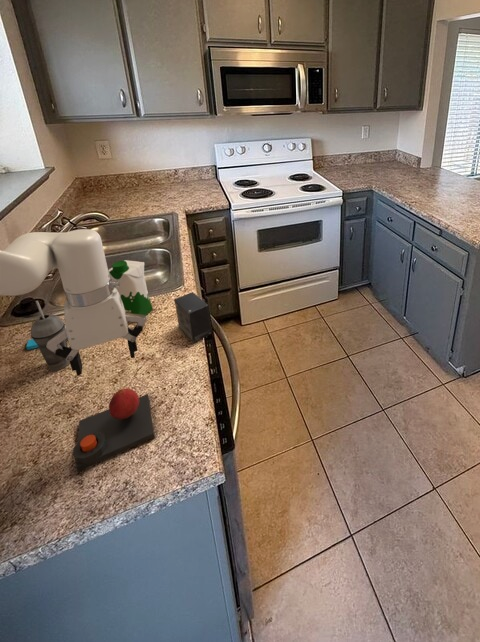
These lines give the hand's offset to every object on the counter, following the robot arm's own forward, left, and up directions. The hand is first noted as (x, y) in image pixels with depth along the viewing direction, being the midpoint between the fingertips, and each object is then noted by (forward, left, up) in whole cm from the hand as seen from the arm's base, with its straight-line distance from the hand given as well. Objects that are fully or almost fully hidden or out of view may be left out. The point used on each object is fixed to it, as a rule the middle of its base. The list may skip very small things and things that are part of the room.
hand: (107, 362), depth 75 cm
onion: (+1, -1, -16) cm, 16 cm away
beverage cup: (-14, +29, -17) cm, 36 cm away
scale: (-1, -2, -17) cm, 17 cm away
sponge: (-17, +43, -17) cm, 49 cm away
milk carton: (+6, +43, -17) cm, 46 cm away
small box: (+21, +24, -17) cm, 36 cm away
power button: (-6, -6, -14) cm, 16 cm away
